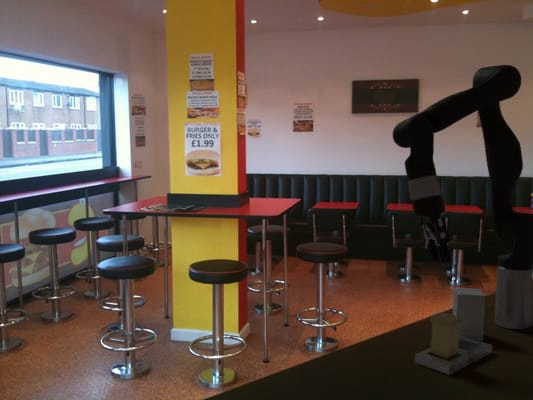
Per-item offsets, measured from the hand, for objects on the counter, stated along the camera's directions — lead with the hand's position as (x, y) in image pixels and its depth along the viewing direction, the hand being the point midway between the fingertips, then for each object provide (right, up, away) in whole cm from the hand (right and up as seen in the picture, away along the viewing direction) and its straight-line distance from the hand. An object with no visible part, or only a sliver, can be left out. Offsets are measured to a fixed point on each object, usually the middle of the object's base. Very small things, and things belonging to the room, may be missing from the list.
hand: (440, 260), depth 134 cm
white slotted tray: (+3, -25, -1) cm, 25 cm away
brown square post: (0, -24, -4) cm, 24 cm away
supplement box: (+13, -23, +17) cm, 31 cm away
